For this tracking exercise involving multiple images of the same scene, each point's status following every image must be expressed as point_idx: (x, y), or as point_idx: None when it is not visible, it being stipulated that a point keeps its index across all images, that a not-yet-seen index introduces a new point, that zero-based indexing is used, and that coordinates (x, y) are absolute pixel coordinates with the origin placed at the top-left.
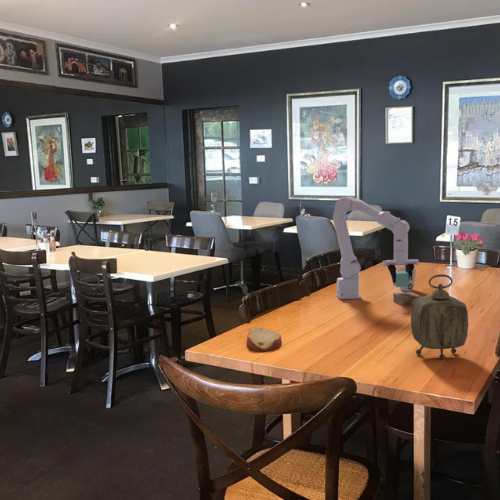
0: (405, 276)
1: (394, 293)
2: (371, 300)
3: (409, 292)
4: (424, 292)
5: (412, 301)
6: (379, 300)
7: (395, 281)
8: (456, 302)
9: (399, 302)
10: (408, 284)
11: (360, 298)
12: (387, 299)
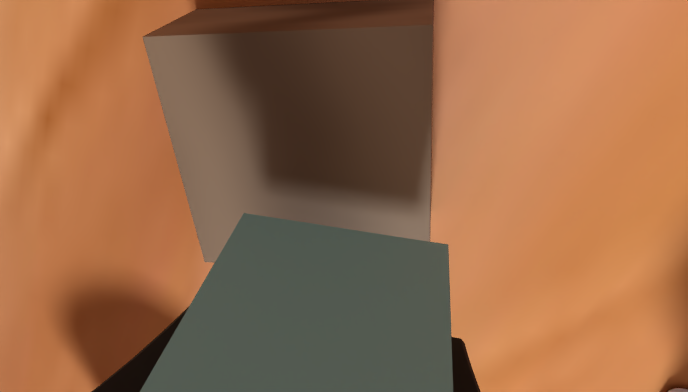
0: (235, 361)
1: None
2: (613, 316)
3: None
4: (72, 373)
5: (281, 16)
6: (536, 294)
7: None
8: None
9: (432, 83)
10: (232, 234)
11: (681, 388)
12: None
